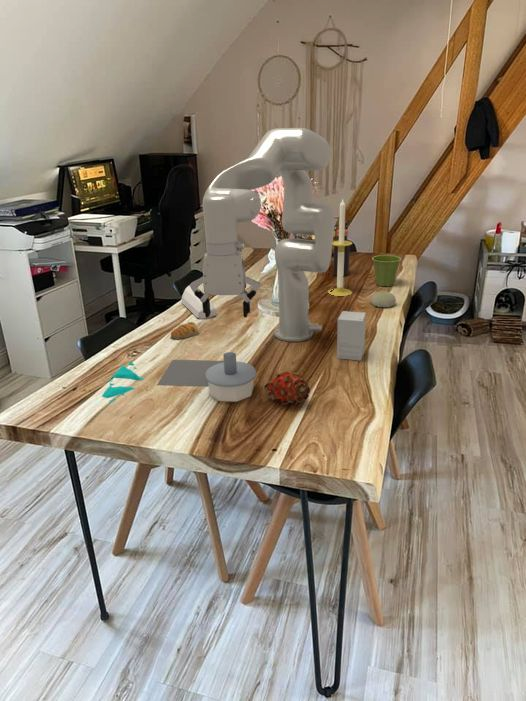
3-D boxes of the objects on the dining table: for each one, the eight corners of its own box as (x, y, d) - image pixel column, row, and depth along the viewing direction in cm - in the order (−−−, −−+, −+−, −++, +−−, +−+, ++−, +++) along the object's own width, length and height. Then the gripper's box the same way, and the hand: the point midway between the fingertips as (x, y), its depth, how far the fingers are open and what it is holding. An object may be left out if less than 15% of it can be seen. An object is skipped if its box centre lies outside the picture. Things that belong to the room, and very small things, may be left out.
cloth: (126, 410, 131) (125, 402, 130) (77, 406, 134) (76, 398, 133) (166, 366, 154) (165, 359, 153) (123, 363, 157) (122, 356, 156)
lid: (258, 364, 140) (257, 344, 138) (252, 387, 128) (251, 366, 126) (211, 363, 141) (209, 344, 139) (200, 386, 130) (199, 365, 127)
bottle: (333, 272, 237) (334, 228, 229) (348, 272, 236) (350, 228, 228) (333, 277, 231) (334, 231, 223) (348, 277, 230) (350, 231, 222)
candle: (357, 293, 209) (361, 197, 194) (338, 298, 204) (341, 200, 188) (340, 287, 217) (343, 194, 201) (322, 292, 211) (324, 197, 196)
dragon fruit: (312, 412, 129) (268, 410, 134) (317, 382, 133) (274, 381, 138) (302, 397, 122) (256, 396, 127) (308, 366, 126) (263, 366, 131)
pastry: (178, 342, 169) (177, 331, 167) (166, 337, 173) (165, 326, 172) (200, 334, 175) (200, 323, 173) (188, 329, 179) (187, 319, 178)
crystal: (174, 293, 203) (193, 312, 184) (188, 282, 204) (209, 299, 184) (185, 307, 207) (205, 327, 188) (199, 296, 208) (220, 314, 188)
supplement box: (364, 351, 158) (367, 312, 153) (361, 361, 151) (363, 321, 146) (340, 348, 160) (342, 310, 155) (335, 358, 154) (337, 318, 148)
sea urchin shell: (368, 303, 192) (371, 284, 194) (370, 312, 199) (373, 294, 201) (393, 305, 189) (396, 286, 191) (394, 315, 196) (397, 296, 198)
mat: (225, 362, 154) (225, 360, 153) (214, 387, 139) (214, 386, 139) (172, 360, 155) (172, 359, 155) (156, 386, 141) (156, 384, 141)
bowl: (255, 382, 141) (254, 366, 139) (249, 403, 131) (248, 385, 129) (215, 381, 142) (214, 365, 140) (206, 401, 132) (205, 384, 130)
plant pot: (402, 282, 220) (405, 256, 216) (393, 290, 211) (395, 263, 207) (376, 279, 226) (378, 253, 222) (366, 286, 217) (367, 259, 213)
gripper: (260, 244, 126) (262, 310, 133) (190, 244, 127) (196, 310, 135) (256, 251, 119) (259, 321, 126) (182, 252, 121) (189, 321, 128)
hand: (226, 315), depth 130 cm, fingers open, 9 cm apart
